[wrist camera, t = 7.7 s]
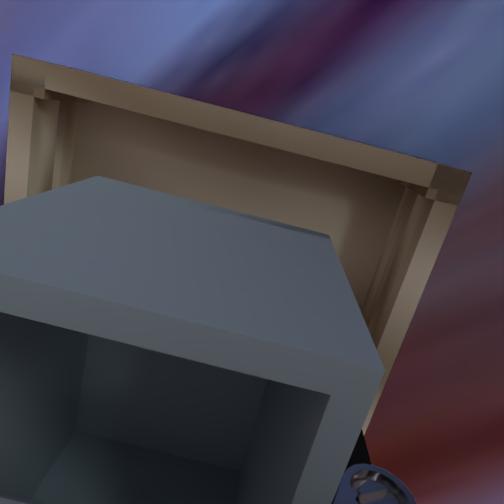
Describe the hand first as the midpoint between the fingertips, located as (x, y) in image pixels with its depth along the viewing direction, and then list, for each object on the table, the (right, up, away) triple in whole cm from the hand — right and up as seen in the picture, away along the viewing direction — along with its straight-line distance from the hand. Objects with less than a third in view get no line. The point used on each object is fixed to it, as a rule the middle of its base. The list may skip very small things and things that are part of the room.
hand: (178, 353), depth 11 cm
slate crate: (0, 0, +1) cm, 1 cm away
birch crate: (0, +2, +6) cm, 6 cm away
